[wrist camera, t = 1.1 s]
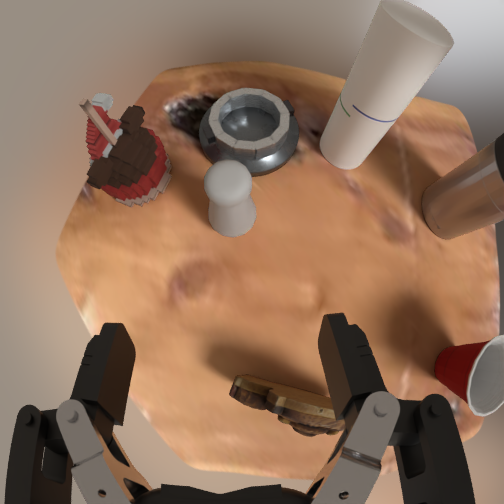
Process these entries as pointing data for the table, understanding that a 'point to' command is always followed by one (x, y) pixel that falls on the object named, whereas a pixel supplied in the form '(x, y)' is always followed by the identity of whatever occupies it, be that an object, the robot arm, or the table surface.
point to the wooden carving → (288, 405)
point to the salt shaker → (230, 198)
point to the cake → (124, 154)
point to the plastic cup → (475, 374)
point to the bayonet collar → (250, 130)
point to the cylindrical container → (383, 80)
